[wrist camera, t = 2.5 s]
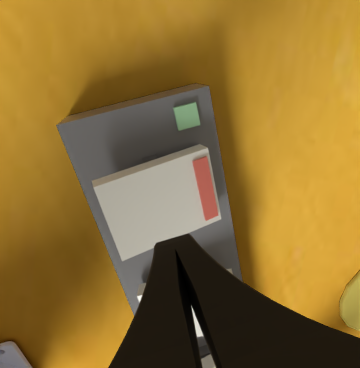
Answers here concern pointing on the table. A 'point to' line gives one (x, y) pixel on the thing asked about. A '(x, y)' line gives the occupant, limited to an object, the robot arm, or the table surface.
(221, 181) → the strip
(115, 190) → the rocker
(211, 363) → the rocker
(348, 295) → the candle
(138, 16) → the table surface
